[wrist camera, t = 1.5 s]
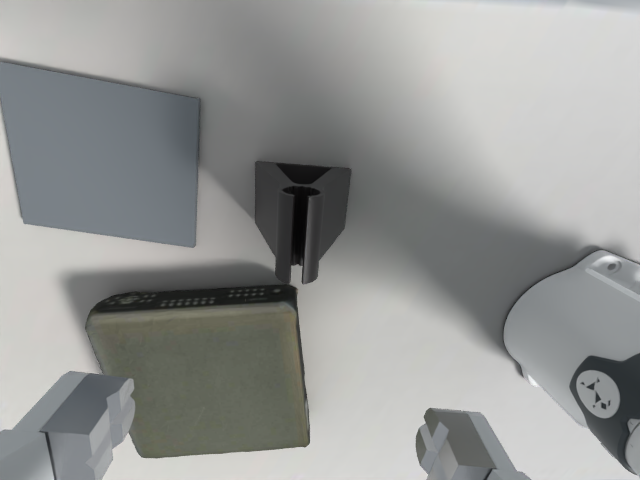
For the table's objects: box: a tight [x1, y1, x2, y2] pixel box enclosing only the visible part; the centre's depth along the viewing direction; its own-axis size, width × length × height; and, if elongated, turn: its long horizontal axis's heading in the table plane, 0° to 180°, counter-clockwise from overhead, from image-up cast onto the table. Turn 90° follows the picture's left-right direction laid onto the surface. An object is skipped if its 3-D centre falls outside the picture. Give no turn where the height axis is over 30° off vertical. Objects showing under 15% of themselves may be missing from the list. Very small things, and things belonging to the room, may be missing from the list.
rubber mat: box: [0, 62, 200, 248], centre depth 29 cm, size 16×14×1 cm
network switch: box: [85, 284, 310, 458], centre depth 36 cm, size 23×24×5 cm
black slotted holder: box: [255, 161, 351, 284], centre depth 25 cm, size 9×6×12 cm, turn 85°
